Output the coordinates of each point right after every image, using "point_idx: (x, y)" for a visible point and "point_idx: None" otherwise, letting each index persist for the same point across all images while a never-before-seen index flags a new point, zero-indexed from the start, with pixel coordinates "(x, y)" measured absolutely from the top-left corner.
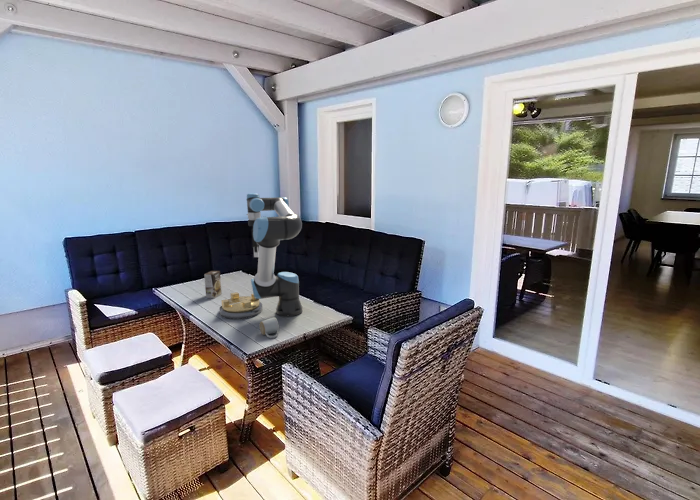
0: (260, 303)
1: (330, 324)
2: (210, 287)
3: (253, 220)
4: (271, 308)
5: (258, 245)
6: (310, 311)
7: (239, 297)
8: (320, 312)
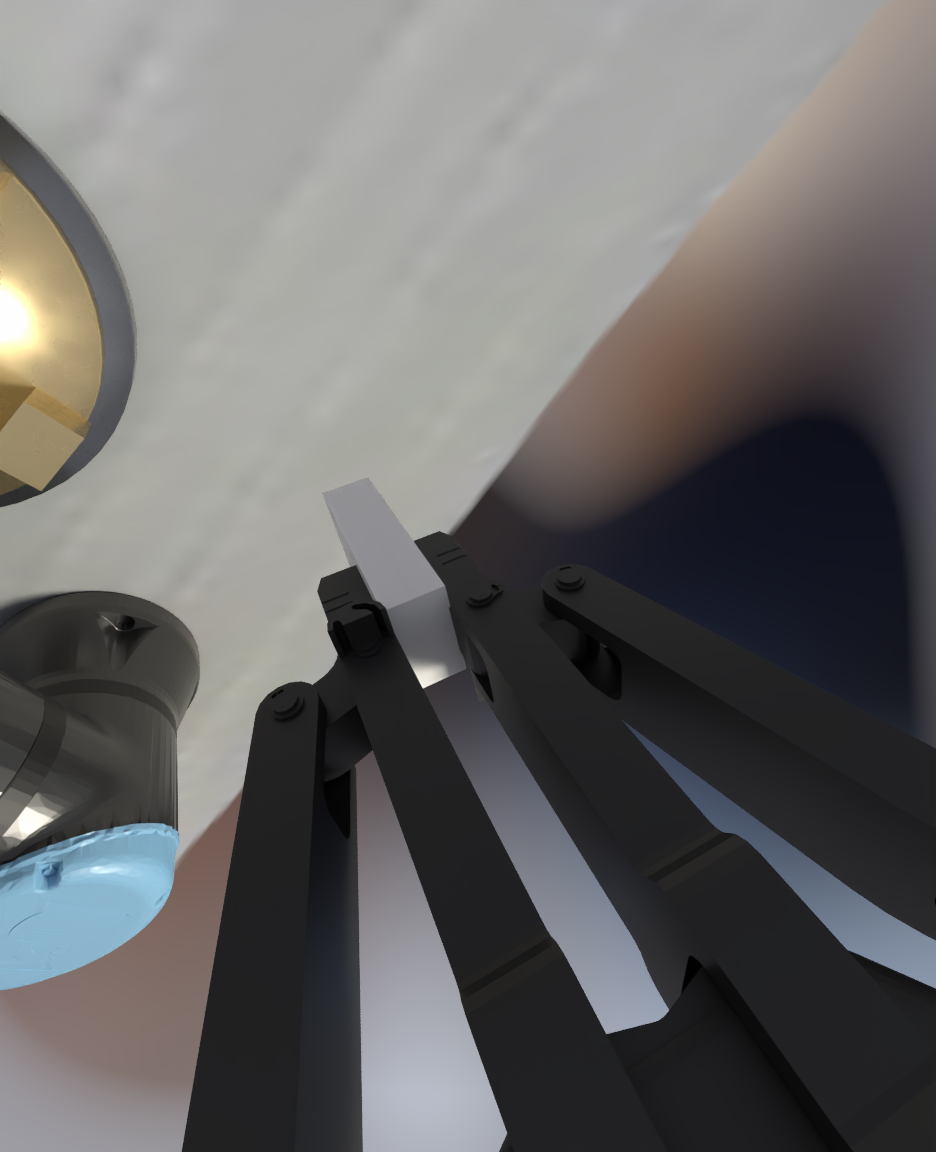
0: (66, 466)
1: None
2: None
3: None
4: (108, 533)
5: (476, 689)
6: None
7: (4, 217)
8: None
